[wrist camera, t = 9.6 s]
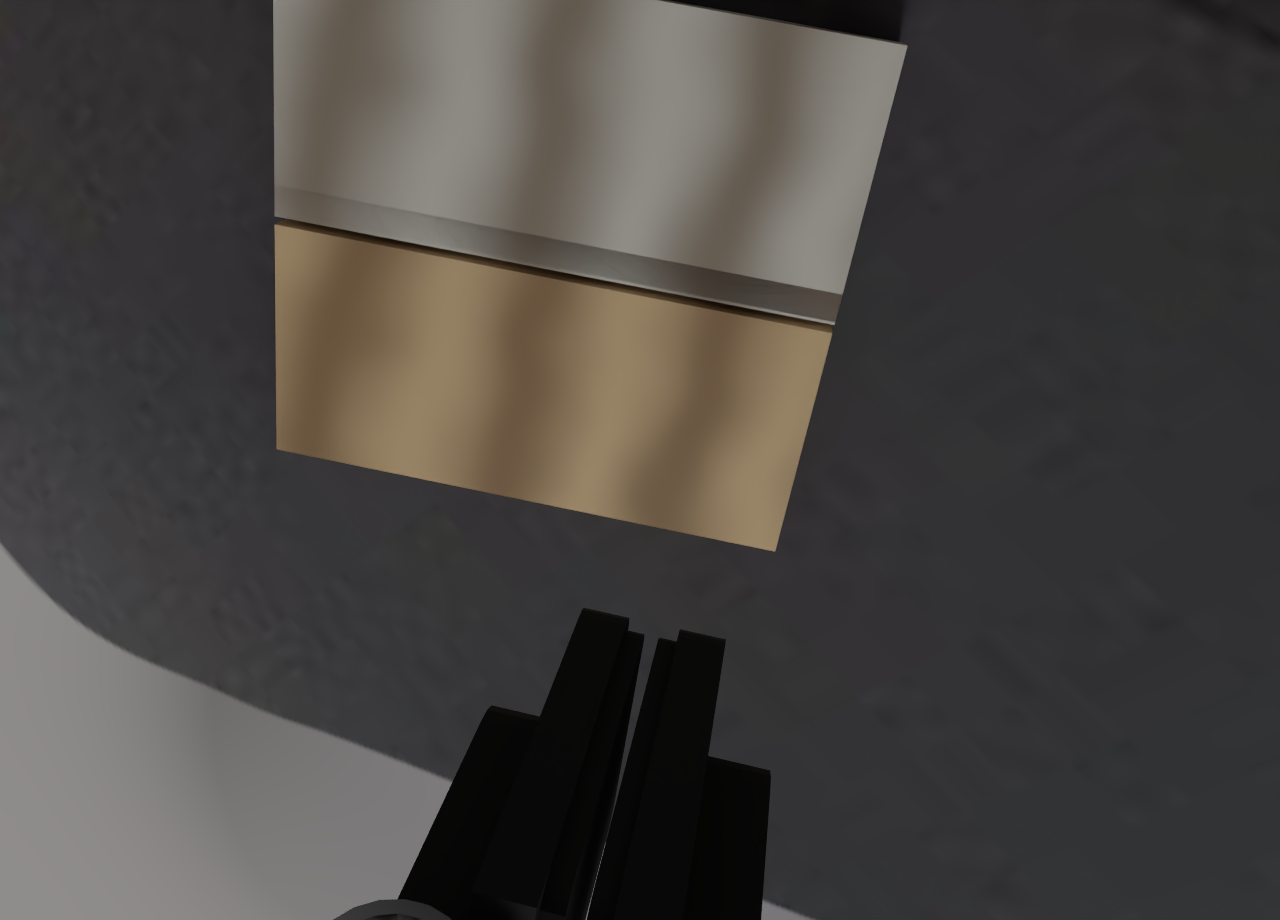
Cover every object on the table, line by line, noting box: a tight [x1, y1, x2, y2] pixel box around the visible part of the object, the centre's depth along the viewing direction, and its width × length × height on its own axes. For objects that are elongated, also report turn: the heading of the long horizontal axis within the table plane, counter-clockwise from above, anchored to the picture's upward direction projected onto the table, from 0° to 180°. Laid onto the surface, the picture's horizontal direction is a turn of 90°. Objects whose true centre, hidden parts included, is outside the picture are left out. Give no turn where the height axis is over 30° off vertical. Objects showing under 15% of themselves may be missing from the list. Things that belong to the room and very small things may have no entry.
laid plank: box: [273, 0, 907, 325], centre depth 33 cm, size 20×9×2 cm, turn 81°
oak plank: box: [275, 219, 832, 551], centre depth 37 cm, size 20×9×2 cm, turn 81°
